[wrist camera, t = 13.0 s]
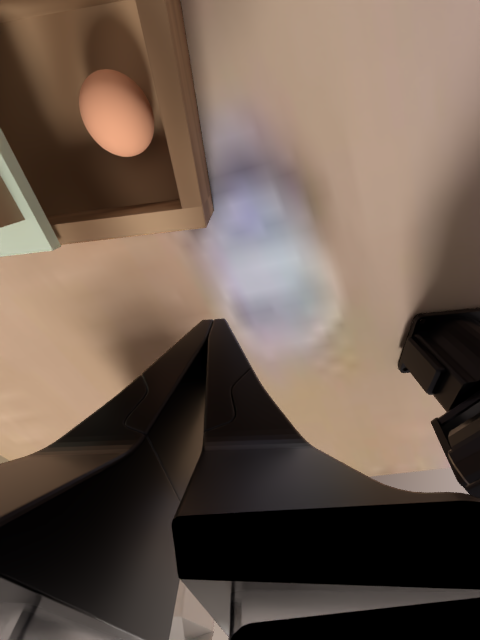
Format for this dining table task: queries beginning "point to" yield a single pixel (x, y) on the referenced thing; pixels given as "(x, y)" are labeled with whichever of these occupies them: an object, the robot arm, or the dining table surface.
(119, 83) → the ball
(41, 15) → the box
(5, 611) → the robot arm
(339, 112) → the dining table surface
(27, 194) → the lid
